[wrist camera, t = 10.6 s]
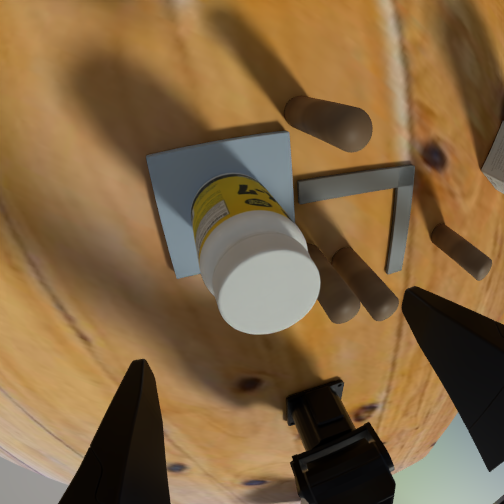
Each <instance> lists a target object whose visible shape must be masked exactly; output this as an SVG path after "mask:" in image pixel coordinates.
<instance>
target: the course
mask: <svg viewBox="0 0 504 504" xmlns="http://www.w3.org/2000/svg"><path fill="white" fill-rule="evenodd" d="M284 115H285V119H286V121H287V122H288V124H289V125H291V126H292V127H294V128H296V129H298V130H301V131H303V132H305V133H307V134H310V135H312V136H314V137H316V138H318V139H321V140H323V141H325V142H327V143H329V144H331V145H333V146H335V147H337V148H339V149H341V150H344V151H346V152H357V151H359V150H361V149H363V148H364V147H365V146H366V145H367V144H368V142H369V141H370V138H371V136H372V122H371V119H370V117H369V115H368V114H367V113H366V112H365V111H364V110H362V109H360V108H357V107H353V106H349V105H344V104H340V103H335V102H330V101H325V100H320V99H315V98H310V97H304V96H297V97H294V98H292V99H291V100H289V101H288V103H287V104H286V106H285V110H284ZM414 171H415V166H413V165H405V166H397V167H388V168H380V169H372V170H365V171H357V172H350V173H343V174H336V175H329V176H323V177H316V178H310V179H304V180H298V181H297V189H298V203H299V204H305V203H310V202H315V201H321V200H327V199H332V198H338V197H343V196H349V195H355V194H361V193H367V192H373V191H379V190H385V189H391V188H396V190H395V202H394V212H393V222H392V231H391V239H390V247H389V254H388V261H387V268H386V273H387V274H391V273H394V272H398V271H401V270H402V265H403V259H404V253H405V247H406V240H407V234H408V227H409V219H410V211H411V202H412V193H413V183H414ZM431 241H432V243H434V244H435V245H436V246H437V247H439V248H440V249H441V250H442V251H443V252H445V253H446V254H447V255H448V256H450V257H451V258H452V259H453V260H454V261H456V262H457V263H458V264H459V265H460V266H461V267H463V268H464V269H465V270H466V271H467V272H468V273H470V274H471V275H472V276H473V277H474V278H475V279H476V280H478V281H480V280H482V279H483V278H484V277H485V276H486V275H487V274H488V272H489V271H490V268H491V266H492V260H491V259H490V258H489V257H487V256H486V255H485V254H484V253H482V252H481V251H480V250H478V249H477V248H476V247H475V246H473V245H472V244H471V243H469V242H468V241H467V240H465V239H464V238H463V237H461V236H460V235H458V234H457V233H456V232H454V231H453V230H452V229H450V228H449V227H447V226H446V225H445V224H439V225H438V226H437V227H436V228H435V229H434V230H433V232H432V235H431ZM307 249H308V253H309V255H310V257H311V259H312V260H313V262H314V263H315V265H316V267H317V269H318V271H319V275H320V290H319V294H318V297H317V299H318V301H319V303H320V304H321V306H322V307H323V309H324V310H325V312H326V314H327V315H328V317H329V318H330V320H331V321H332V322H333V323H336V324H341V323H345V322H347V321H349V320H351V319H352V318H353V317H354V316H355V315H356V314H357V313H358V311H359V309H360V302H361V303H362V304H363V306H364V307H365V308H366V310H367V311H368V312H369V314H370V315H371V316H372V318H373V319H374V320H376V321H383V320H385V319H387V318H389V317H390V316H391V315H392V314H393V313H394V312H395V311H396V309H397V307H398V304H399V300H398V298H397V297H396V296H395V294H394V293H393V292H392V291H391V290H390V289H389V288H388V287H387V286H386V284H385V283H384V282H383V281H382V280H381V279H380V278H379V277H378V276H377V275H376V274H375V272H374V271H373V270H372V269H371V268H370V267H369V266H368V265H367V264H366V263H365V262H364V261H363V260H362V259H361V257H360V256H359V255H358V254H357V253H356V252H355V251H354V250H353V249H352V248H348V247H347V248H342V249H340V250H339V251H338V252H337V253H336V254H335V255H334V257H333V259H332V265H333V266H332V265H331V263H330V262H329V261H328V260H327V258H326V257H325V256H324V255H323V253H322V252H321V251H320V250H319V249H318V247H317V246H315V245H312V244H308V245H307Z"/></svg>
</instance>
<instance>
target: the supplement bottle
mask: <svg viewBox="0 0 504 504" xmlns="http://www.w3.org/2000/svg"><path fill="white" fill-rule="evenodd" d="M191 221H192V227H193V233H194V240H195V245H196V251H197V256H198V262H199V268H200V272H201V276H202V278H203V281H204V283H205V285H206V287H207V288H208V290H209V291H210V292H211V293H212V294H213V295H214V296H215V298H216V302H217V305H218V309H219V311H220V313H221V316H222V317H223V318H224V320H225V321H226V322H227V323H228V324H229V325H230V326H232V327H233V328H234V329H236V330H239V331H241V332H244V333H248V334H257V335H259V334H270V333H274V332H278V331H281V330H283V329H286V328H288V327H290V326H292V325H293V324H295V323H296V322H298V321H299V320H300V319H302V318H303V317H304V316H305V315H306V314H307V313H308V312H309V311H310V309H311V308H312V307H313V305H314V304H315V302H316V299H317V297H318V294H319V290H320V275H319V271H318V269H317V267H316V265H315V263H314V262H313V260H312V259H311V257H310V255H309V253H308V249H307V244H306V241H305V238H304V236H303V234H302V232H301V231H300V229H299V228H298V226H297V225H296V224H295V223H294V222H293V220H292V219H291V218H290V217H289V216H288V214H287V213H286V212H285V211H284V210H283V208H282V207H281V206H280V205H279V204H278V202H277V201H276V200H275V199H274V198H273V196H272V195H271V194H270V193H269V192H268V191H267V189H266V188H265V187H264V186H263V185H262V184H261V183H260V182H259V181H257V180H256V179H254V178H252V177H250V176H248V175H245V174H241V173H225V174H221V175H218V176H216V177H214V178H212V179H210V180H209V181H207V182H206V183H205V184H204V185H203V186H202V187H201V188H200V189H199V190H198V192H197V193H196V195H195V197H194V199H193V202H192V206H191Z"/></svg>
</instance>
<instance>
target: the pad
mask: <svg viewBox="0 0 504 504" xmlns="http://www.w3.org/2000/svg"><path fill="white" fill-rule="evenodd" d="M146 160H147V164H148V169H149V173H150V178H151V182H152V186H153V190H154V195H155V199H156V203H157V207H158V211H159V215H160V219H161V223H162V227H163V230H164V234H165V238H166V242H167V245H168V249H169V253H170V256H171V260H172V263H173V267H174V270H175V274H176V277H177V279H179V278H183V277H188V276H192V275H197V274H201V272H200V268H199V262H198V256H197V251H196V245H195V240H194V233H193V227H192V221H191V206H192V202H193V199H194V197H195V195H196V193H197V192H198V190H199V189H200V188H201V187H202V186H203V185H204V184H205V183H206V182H207V181H209V180H210V179H212V178H214V177H216V176H218V175H221V174H225V173H241V174H245V175H248V176H250V177H252V178H254V179H256V180H257V181H259V182H260V183H261V184H262V185H263V186H264V187H265V188H266V189H267V191H268V192H269V193H270V194H271V195H272V196H273V198H274V199H275V200H276V201H277V202H278V204H279V205H280V206H281V207H282V208H283V210H284V211H285V212H286V213H287V214H288V216H289V217H290V218H291V219H292V220H293V222H294V223H295V214H294V196H293V179H292V164H291V149H290V136H289V132H288V131H278V132H270V133H263V134H256V135H249V136H242V137H236V138H230V139H224V140H218V141H213V142H207V143H202V144H197V145H192V146H187V147H182V148H177V149H172V150H168V151H163V152H159V153H155V154H150V155H147V156H146Z"/></svg>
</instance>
